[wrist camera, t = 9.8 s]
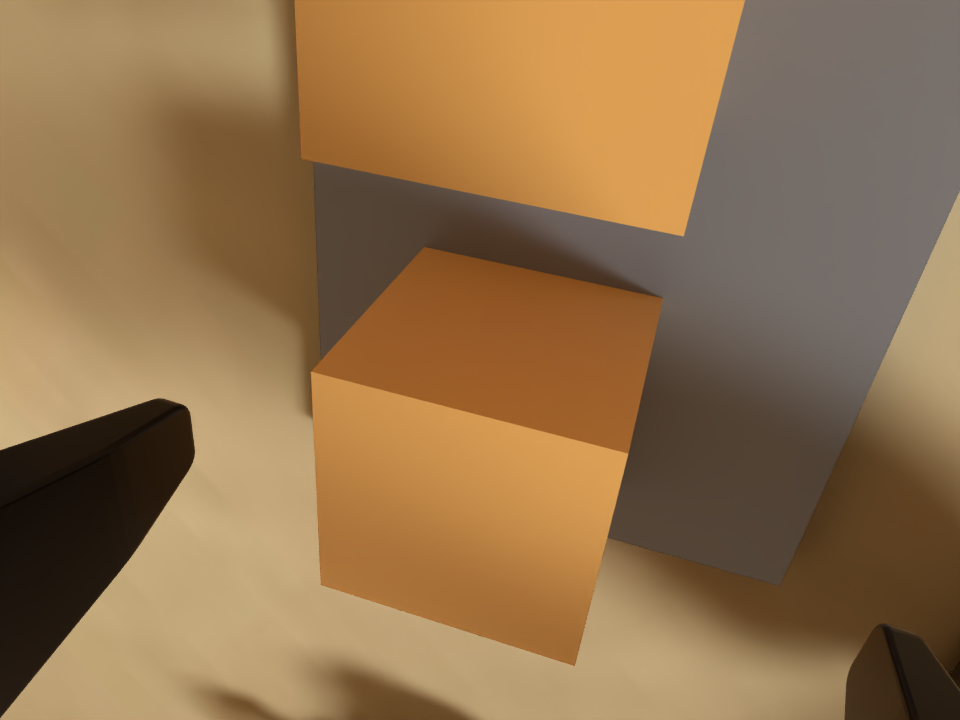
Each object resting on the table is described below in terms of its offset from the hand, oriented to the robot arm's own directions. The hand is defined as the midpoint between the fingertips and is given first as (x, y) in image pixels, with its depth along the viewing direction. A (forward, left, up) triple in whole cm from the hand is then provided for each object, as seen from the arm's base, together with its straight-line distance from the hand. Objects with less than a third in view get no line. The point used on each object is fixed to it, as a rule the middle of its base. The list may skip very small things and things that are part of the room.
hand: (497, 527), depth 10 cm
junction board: (+1, -1, -11) cm, 11 cm away
